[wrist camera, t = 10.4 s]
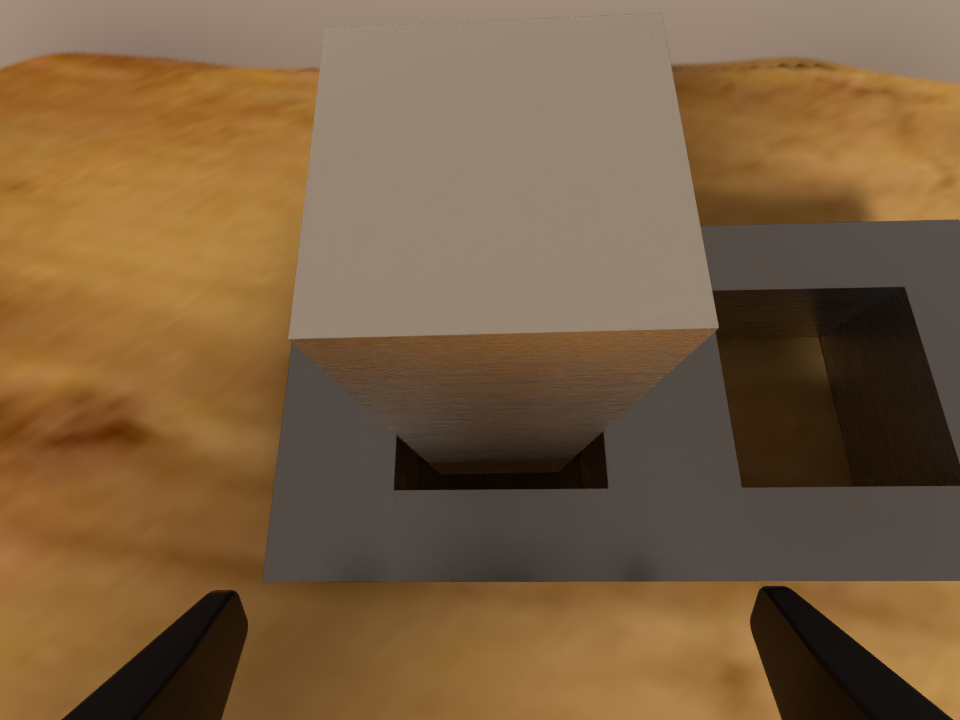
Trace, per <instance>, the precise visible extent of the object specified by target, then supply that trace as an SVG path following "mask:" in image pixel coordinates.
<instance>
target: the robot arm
mask: <svg viewBox="0 0 960 720" xmlns="http://www.w3.org/2000/svg"><path fill="white" fill-rule="evenodd" d="M750 626H751V631H752V635H753V638H754V640H755V643H756V646H757V649H758V652H759V655H760V658H761V661H762V664H763V667H764V669H765V672H766V675H767V678H768V681H769V684H770V687H771V690H772V693H773V696H774V698H775V701H776V704H777V707H778V710H779V713H780V716H781V719H782V720H953V719H952V718H950V717H949V716H948V715H947V714H946V713H944V712H943V711H942V710H941V709H939V708H938V707H937V706H936V705H934V704H933V703H932V702H931V701H929V700H928V699H927V698H926V697H924V696H923V695H922V694H921V693H919V692H918V691H917V690H916V689H915V688H913V687H912V686H911V685H910V684H908V683H907V682H906V681H905V680H903V679H902V678H901V677H900V676H898V675H897V674H896V673H895V672H893V671H892V670H891V669H890V668H888V667H887V666H886V665H885V664H884V663H882V662H881V661H880V660H879V659H877V658H876V657H875V656H874V655H872V654H871V653H870V652H869V651H867V650H866V649H865V648H864V647H862V646H861V645H860V644H859V643H857V642H856V641H855V640H854V639H853V638H851V637H850V636H849V635H848V634H846V633H845V632H844V631H843V630H841V629H840V628H839V627H838V626H836V625H835V624H834V623H833V622H831V621H830V620H829V619H828V618H826V617H825V616H824V615H823V614H821V613H820V612H819V611H818V610H817V609H815V608H814V607H813V606H812V605H810V604H809V603H808V602H807V601H805V600H804V599H803V598H802V597H800V596H799V595H798V594H797V593H795V592H794V591H793V590H791V589H790V588H788V587H785V586H764V587H762V588H761V589H760V590H759V592H758V595H757V598H756V601H755V604H754V608H753V611H752V614H751V618H750ZM247 631H248V621H247V617H246V614H245V611H244V609H243V606H242V603H241V600H240V597H239V595H238V593H237V592H236V591H234V590H215V591H211V592H210V593H208V594H207V595H205V596H204V597H203V598H202V599H201V600H199V601H198V602H197V603H196V604H195V605H194V606H192V607H191V608H190V609H189V610H188V611H187V612H186V613H184V614H183V615H182V616H181V617H180V618H179V619H177V620H176V621H175V622H174V623H173V624H172V625H171V626H169V627H168V628H167V629H166V630H165V631H164V632H162V633H161V634H160V635H159V636H158V637H157V638H155V639H154V640H153V641H152V642H151V643H150V644H149V645H147V646H146V647H145V648H144V649H143V650H142V651H140V652H139V653H138V654H137V655H136V656H135V657H134V658H132V659H131V660H130V661H129V662H128V663H127V664H125V665H124V666H123V667H122V668H121V669H120V670H118V671H117V672H116V673H115V674H114V675H113V676H112V677H110V678H109V679H108V680H107V681H106V682H105V683H103V684H102V685H101V686H100V687H99V688H98V689H97V690H95V691H94V692H93V693H92V694H91V695H90V696H88V697H87V698H86V699H85V700H84V701H83V702H81V703H80V704H79V705H78V706H77V707H76V708H75V709H73V710H72V711H71V712H70V713H69V714H68V715H66V716H65V717H64V718H63V719H62V720H221V719H222V716H223V713H224V709H225V706H226V703H227V699H228V696H229V693H230V689H231V686H232V683H233V679H234V676H235V673H236V669H237V666H238V663H239V659H240V656H241V653H242V650H243V646H244V643H245V640H246V636H247Z"/></svg>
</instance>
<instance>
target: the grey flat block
mask: <svg viewBox="0 0 960 720" xmlns="http://www.w3.org/2000/svg"><path fill="white" fill-rule="evenodd" d="M700 227H701V232H702V238H703V243H704V249H705V254H706V260H707V265H708V271H709V276H710V282H711V287H712V293H713V298H714V304H715V309H716V315H717V320H718V326H719V328H718V329H717V330H716V331H715V332H714V333H713V334H712V335H710V336H709V337H708V338H707V339H706V340H705V341H704V342H703V343H701V344H700V345H699V346H698V347H697V348H696V349H695V350H694V351H693V352H691V353H690V354H689V355H688V356H687V357H686V358H685V359H684V360H682V361H681V362H680V363H679V364H678V365H677V366H676V367H675V368H673V369H672V370H671V371H670V372H669V373H668V374H667V375H666V376H665V377H663V378H662V379H661V380H660V381H659V382H658V383H657V384H656V385H654V386H653V387H652V388H651V389H650V390H649V391H648V392H647V393H645V394H644V395H643V396H642V397H641V398H640V399H639V400H638V401H637V402H635V403H634V404H633V405H632V406H631V407H630V408H629V409H628V410H626V411H625V412H624V413H623V414H622V415H621V416H620V417H619V418H617V419H616V420H615V421H614V422H613V423H612V424H611V425H610V426H609V427H607V428H606V429H605V430H604V431H603V432H602V433H601V434H600V435H598V436H597V437H596V438H595V439H594V440H593V441H592V442H591V443H589V444H588V445H587V446H586V447H585V448H584V449H583V450H582V451H580V458H581V473H582V487H583V489H506V490H418V463H419V454H417V453H416V452H415V451H414V450H413V449H412V448H411V447H410V446H408V445H407V444H406V443H405V442H404V441H403V440H402V439H401V438H399V437H398V436H397V435H396V434H395V433H394V432H393V431H391V430H390V429H389V428H388V427H387V426H386V425H385V424H384V423H382V422H381V421H380V420H379V419H378V418H377V417H376V416H375V415H373V414H372V413H371V412H370V411H369V410H368V409H367V408H365V407H364V406H363V405H362V404H361V403H360V402H359V401H358V400H356V399H355V398H354V397H353V396H352V395H351V394H350V393H349V392H347V391H346V390H345V389H344V388H343V387H342V386H341V385H339V384H338V383H337V382H336V381H335V380H334V379H333V378H332V377H330V376H329V375H328V374H327V373H326V372H325V371H324V370H323V369H321V368H320V367H319V366H318V365H317V364H316V363H315V362H314V361H312V360H311V359H310V358H309V357H308V356H307V355H306V354H304V353H303V352H302V351H301V350H300V349H299V348H298V347H297V346H295V345H294V344H293V343H292V345H291V353H290V361H289V369H288V378H287V386H286V394H285V402H284V410H283V418H282V426H281V434H280V442H279V450H278V458H277V466H276V474H275V482H274V490H273V498H272V506H271V514H270V523H269V531H268V539H267V547H266V555H265V563H264V571H263V579H262V582H570V581H960V221H959V220H922V221H881V222H840V223H799V224H758V225H716V226H700ZM776 337H819V338H820V342H821V346H822V351H823V355H824V359H825V363H826V367H827V371H828V375H829V380H830V384H831V388H832V392H833V396H834V400H835V405H836V409H837V413H838V417H839V421H840V425H841V429H842V434H843V438H844V442H845V446H846V450H847V454H848V459H849V463H850V467H851V471H852V475H853V479H854V483H855V487H759V488H742V485H741V479H740V473H739V467H738V461H737V455H736V449H735V444H734V438H733V432H732V426H731V420H730V414H729V408H728V402H727V396H726V391H725V385H724V379H723V373H722V367H721V361H720V355H719V349H718V343H717V338H776Z"/></svg>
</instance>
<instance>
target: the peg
mask: <svg viewBox="0 0 960 720" xmlns="http://www.w3.org/2000/svg"><path fill="white" fill-rule="evenodd" d="M718 328H719V326H718V320H717V315H716V309H715V304H714V298H713V293H712V287H711V282H710V276H709V271H708V265H707V260H706V254H705V249H704V243H703V238H702V232H701V227H700V221H699V216H698V210H697V205H696V199H695V194H694V188H693V183H692V177H691V172H690V166H689V161H688V155H687V150H686V144H685V139H684V133H683V128H682V122H681V117H680V111H679V106H678V100H677V95H676V89H675V84H674V78H673V73H672V67H671V62H670V56H669V51H668V46H667V40H666V35H665V29H664V24H663V18H662V13H648V14H625V15H604V16H603V15H602V16H580V17H557V18H535V19H513V20H491V21H490V20H489V21H466V22H444V23H422V24H398V25H376V26H354V27H331V28H325V32H324V41H323V50H322V57H321V66H320V74H319V83H318V91H317V100H316V108H315V117H314V125H313V134H312V142H311V150H310V159H309V167H308V176H307V184H306V193H305V201H304V210H303V218H302V227H301V235H300V243H299V252H298V260H297V269H296V277H295V286H294V294H293V303H292V311H291V320H290V328H289V336H288V339H289V340H290V341H291V342H292V343H293V344H294V345H295V346H297V347H298V348H299V349H300V350H301V351H302V352H303V353H304V354H306V355H307V356H308V357H309V358H310V359H311V360H312V361H314V362H315V363H316V364H317V365H318V366H319V367H320V368H321V369H323V370H324V371H325V372H326V373H327V374H328V375H329V376H330V377H332V378H333V379H334V380H335V381H336V382H337V383H338V384H339V385H341V386H342V387H343V388H344V389H345V390H346V391H347V392H349V393H350V394H351V395H352V396H353V397H354V398H355V399H356V400H358V401H359V402H360V403H361V404H362V405H363V406H364V407H365V408H367V409H368V410H369V411H370V412H371V413H372V414H373V415H375V416H376V417H377V418H378V419H379V420H380V421H381V422H382V423H384V424H385V425H386V426H387V427H388V428H389V429H390V430H391V431H393V432H394V433H395V434H396V435H397V436H398V437H399V438H401V439H402V440H403V441H404V442H405V443H406V444H407V445H408V446H410V447H411V448H412V449H413V450H414V451H415V452H416V453H417V454H419V455H420V456H421V457H422V458H423V459H424V460H425V461H426V462H428V463H429V464H430V465H431V466H432V467H433V468H434V469H436V470H437V471H438V472H439V473H440V474H481V473H538V472H558V471H559V470H560V469H561V468H563V467H564V466H565V465H566V464H567V463H568V462H569V461H570V460H572V459H573V458H574V457H575V456H576V455H577V454H578V453H579V452H580V451H582V450H583V449H584V448H585V447H586V446H587V445H588V444H589V443H591V442H592V441H593V440H594V439H595V438H596V437H597V436H598V435H600V434H601V433H602V432H603V431H604V430H605V429H606V428H607V427H609V426H610V425H611V424H612V423H613V422H614V421H615V420H616V419H617V418H619V417H620V416H621V415H622V414H623V413H624V412H625V411H626V410H628V409H629V408H630V407H631V406H632V405H633V404H634V403H635V402H637V401H638V400H639V399H640V398H641V397H642V396H643V395H644V394H645V393H647V392H648V391H649V390H650V389H651V388H652V387H653V386H654V385H656V384H657V383H658V382H659V381H660V380H661V379H662V378H663V377H665V376H666V375H667V374H668V373H669V372H670V371H671V370H672V369H673V368H675V367H676V366H677V365H678V364H679V363H680V362H681V361H682V360H684V359H685V358H686V357H687V356H688V355H689V354H690V353H691V352H693V351H694V350H695V349H696V348H697V347H698V346H699V345H700V344H701V343H703V342H704V341H705V340H706V339H707V338H708V337H709V336H710V335H712V334H713V333H714V332H715V331H716V330H717V329H718Z"/></svg>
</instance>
